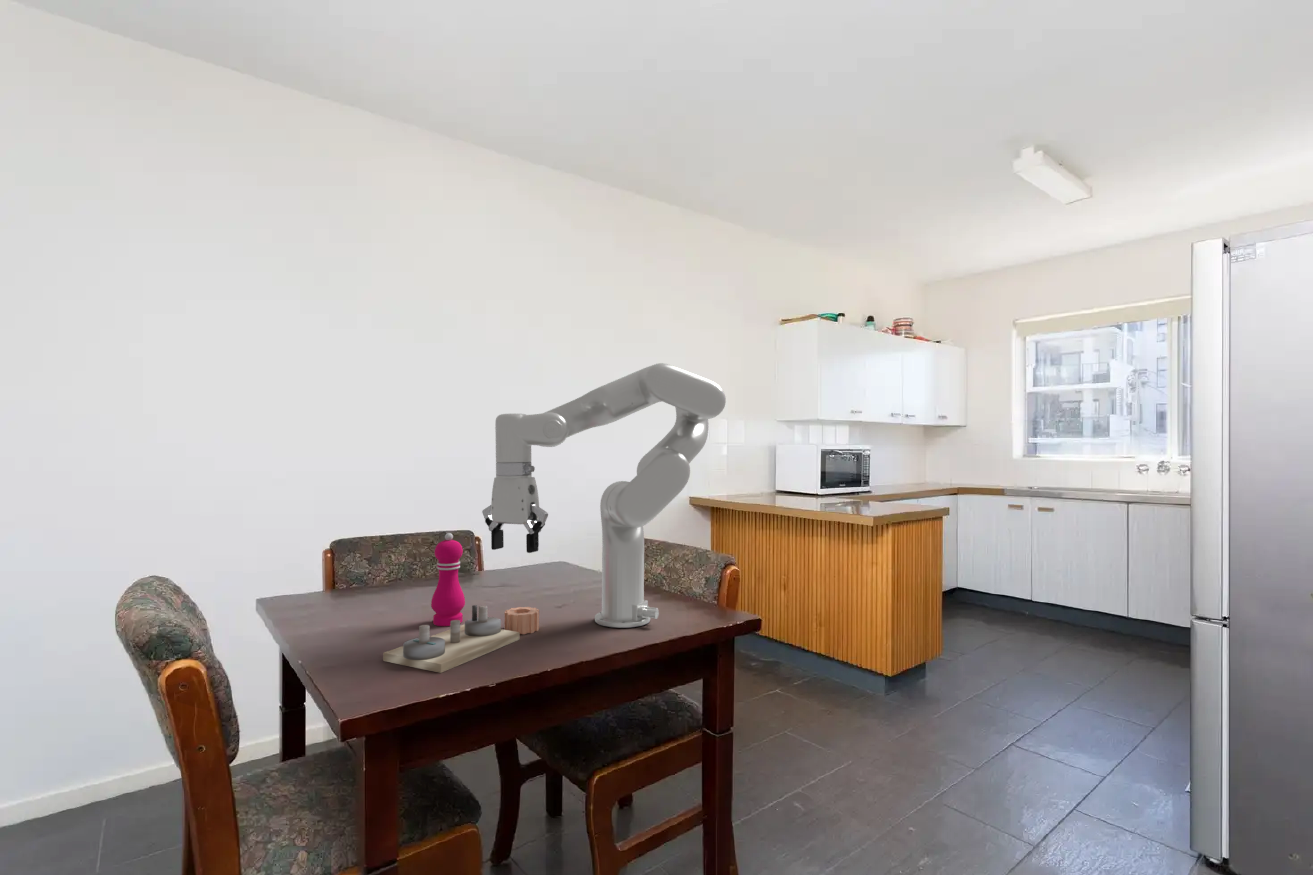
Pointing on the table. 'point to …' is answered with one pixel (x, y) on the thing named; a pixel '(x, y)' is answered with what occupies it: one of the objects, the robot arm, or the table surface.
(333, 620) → the table surface
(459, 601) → the pepper mill
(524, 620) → the gear
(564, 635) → the table surface
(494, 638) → the board
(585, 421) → the robot arm
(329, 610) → the table surface
